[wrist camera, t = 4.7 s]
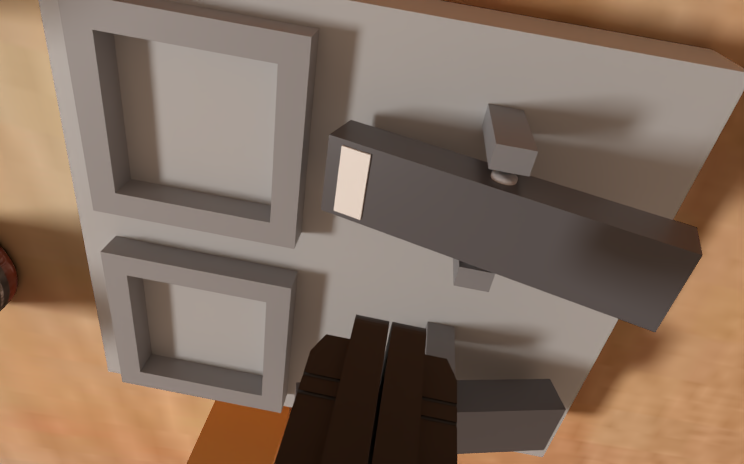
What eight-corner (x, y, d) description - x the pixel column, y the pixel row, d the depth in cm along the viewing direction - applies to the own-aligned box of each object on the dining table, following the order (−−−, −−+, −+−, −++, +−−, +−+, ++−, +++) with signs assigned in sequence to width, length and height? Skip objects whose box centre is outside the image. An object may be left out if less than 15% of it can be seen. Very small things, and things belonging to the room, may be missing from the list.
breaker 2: (550, 377, 23) (567, 409, 22) (529, 420, 25) (543, 452, 23) (296, 380, 21) (297, 416, 20) (291, 427, 22) (292, 463, 21)
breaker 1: (698, 224, 15) (704, 253, 14) (652, 303, 17) (653, 336, 15) (351, 117, 18) (328, 132, 17) (341, 193, 20) (319, 213, 18)
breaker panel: (712, 49, 19) (818, 112, 13) (534, 409, 30) (553, 522, 24) (82, -65, 19) (-59, -48, 14) (136, 331, 30) (69, 426, 25)
